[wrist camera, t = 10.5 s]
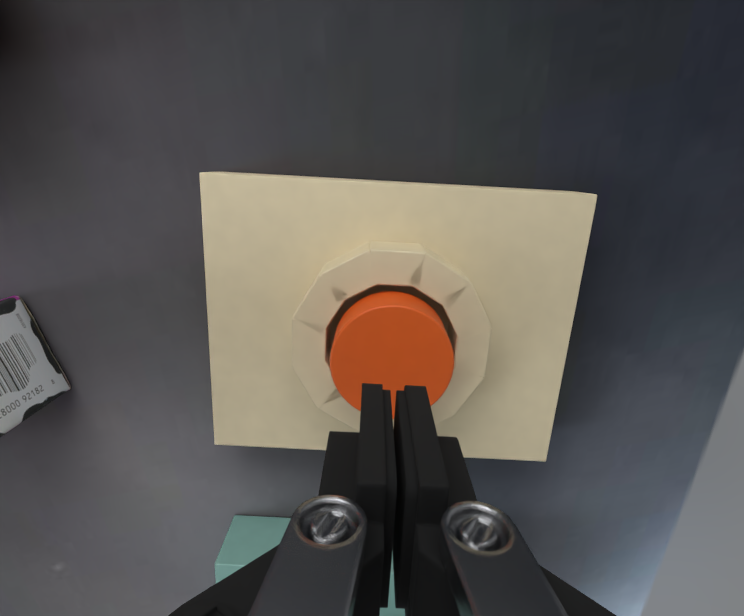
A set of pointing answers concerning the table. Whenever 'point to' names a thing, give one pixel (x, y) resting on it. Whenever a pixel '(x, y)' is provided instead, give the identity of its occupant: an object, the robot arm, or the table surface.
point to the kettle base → (388, 273)
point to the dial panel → (267, 549)
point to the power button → (391, 347)
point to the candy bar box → (25, 366)
